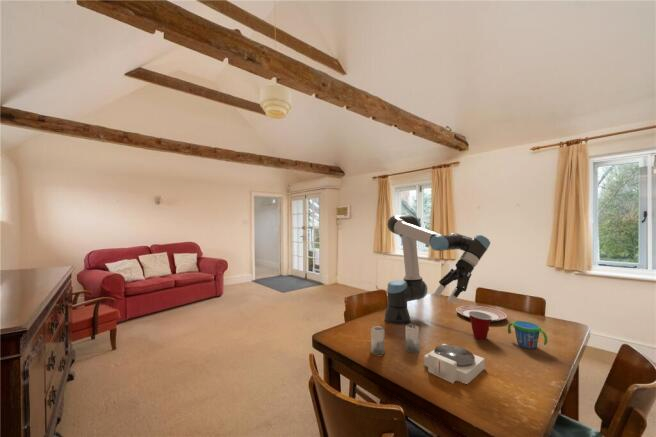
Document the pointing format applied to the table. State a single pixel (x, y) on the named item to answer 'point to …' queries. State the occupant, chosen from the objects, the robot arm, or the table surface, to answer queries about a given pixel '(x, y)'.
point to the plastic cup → (480, 324)
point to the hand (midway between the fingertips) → (442, 299)
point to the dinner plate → (494, 313)
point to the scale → (453, 368)
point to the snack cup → (527, 334)
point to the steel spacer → (377, 340)
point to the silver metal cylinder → (412, 338)
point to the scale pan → (456, 354)
